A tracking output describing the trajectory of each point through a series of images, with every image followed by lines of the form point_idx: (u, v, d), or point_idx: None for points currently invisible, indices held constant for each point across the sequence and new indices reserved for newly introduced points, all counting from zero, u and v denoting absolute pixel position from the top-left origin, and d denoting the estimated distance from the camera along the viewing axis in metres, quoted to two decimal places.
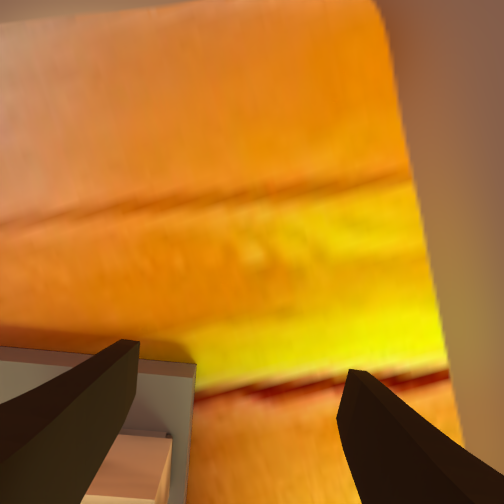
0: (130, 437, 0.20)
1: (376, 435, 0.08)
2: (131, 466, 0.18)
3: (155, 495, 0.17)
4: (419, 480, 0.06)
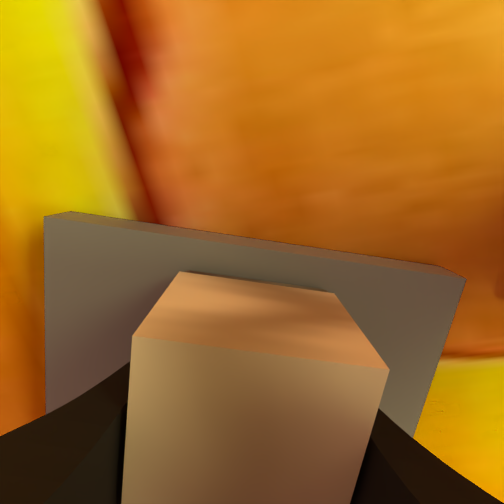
0: None
1: None
2: None
3: (139, 330, 0.06)
4: (371, 475, 0.06)
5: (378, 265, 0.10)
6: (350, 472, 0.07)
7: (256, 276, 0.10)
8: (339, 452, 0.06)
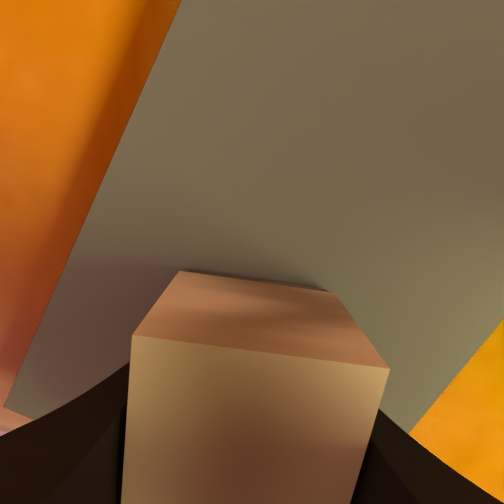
0: None
1: None
2: None
3: (139, 330, 0.06)
4: (371, 475, 0.06)
5: None
6: (350, 472, 0.07)
7: None
8: (339, 452, 0.06)
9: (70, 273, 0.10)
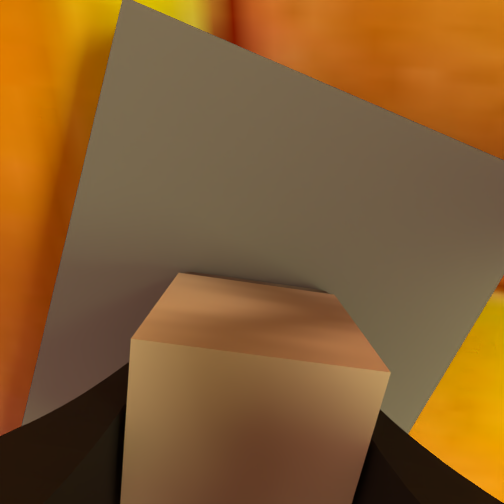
0: None
1: None
2: None
3: (138, 333, 0.06)
4: (371, 475, 0.06)
5: (472, 147, 0.09)
6: (351, 475, 0.07)
7: (342, 129, 0.09)
8: (340, 455, 0.06)
9: (33, 407, 0.11)
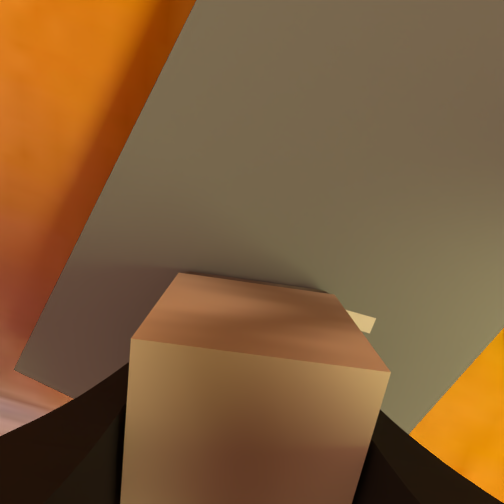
0: None
1: None
2: None
3: (138, 333, 0.06)
4: (371, 475, 0.06)
5: None
6: (351, 475, 0.07)
7: None
8: (340, 455, 0.06)
9: (91, 230, 0.10)
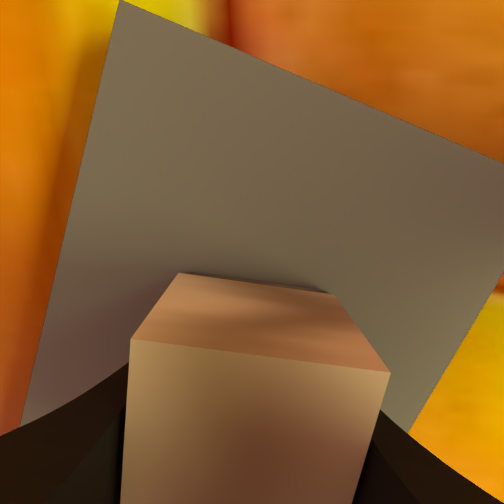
0: None
1: None
2: None
3: (138, 333, 0.06)
4: (371, 475, 0.06)
5: (469, 149, 0.09)
6: (351, 475, 0.07)
7: (339, 132, 0.09)
8: (340, 455, 0.06)
9: (30, 410, 0.11)
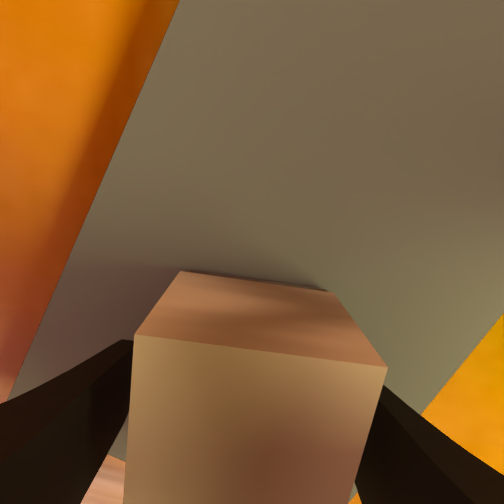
0: None
1: (376, 435, 0.08)
2: None
3: (141, 329, 0.06)
4: (419, 480, 0.06)
5: None
6: (349, 469, 0.07)
7: (468, 3, 0.08)
8: (338, 449, 0.07)
9: (68, 278, 0.10)
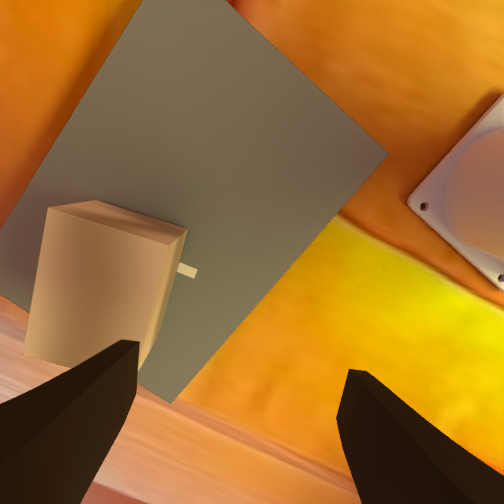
0: None
1: (376, 435, 0.08)
2: None
3: (53, 207, 0.13)
4: (419, 480, 0.06)
5: (346, 114, 0.16)
6: (150, 299, 0.13)
7: (275, 76, 0.15)
8: (144, 286, 0.13)
9: (27, 194, 0.17)
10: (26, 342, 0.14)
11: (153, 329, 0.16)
